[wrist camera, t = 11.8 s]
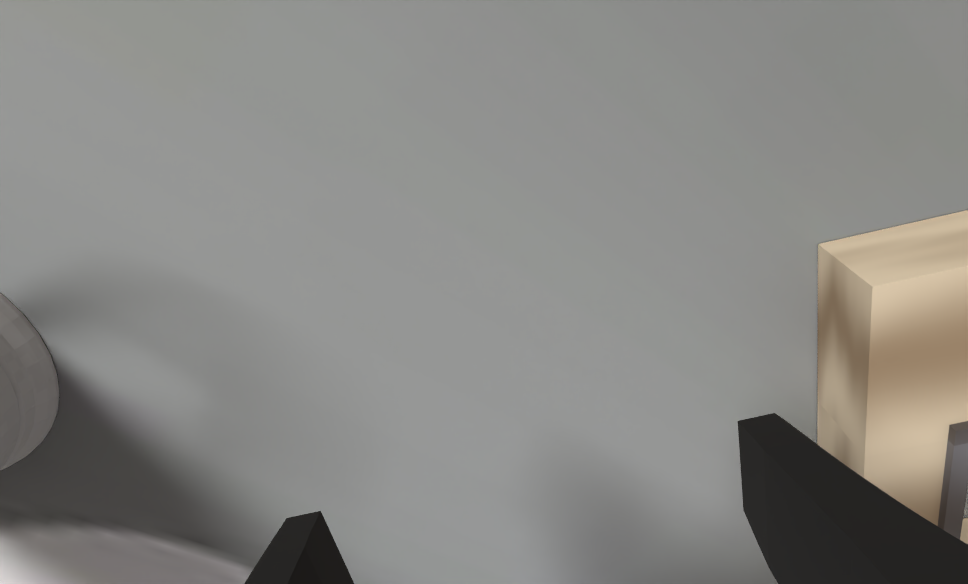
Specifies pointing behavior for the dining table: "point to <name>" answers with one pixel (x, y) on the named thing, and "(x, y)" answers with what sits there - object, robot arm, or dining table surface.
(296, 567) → the robot arm
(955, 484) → the socket plate
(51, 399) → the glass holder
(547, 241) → the dining table surface
